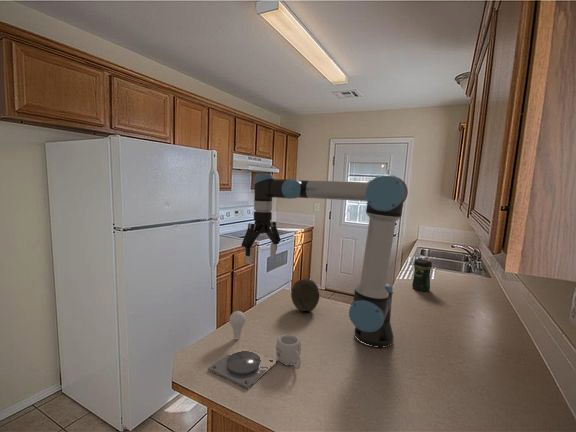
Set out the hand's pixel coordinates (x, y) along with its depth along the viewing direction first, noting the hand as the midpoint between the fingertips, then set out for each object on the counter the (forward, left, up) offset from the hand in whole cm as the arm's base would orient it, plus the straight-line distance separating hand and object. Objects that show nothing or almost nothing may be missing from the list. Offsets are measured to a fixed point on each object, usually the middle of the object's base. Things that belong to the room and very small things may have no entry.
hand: (261, 260), depth 125 cm
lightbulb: (-1, +16, -28) cm, 32 cm away
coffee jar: (-54, -93, -28) cm, 111 cm away
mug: (-26, +18, -28) cm, 42 cm away
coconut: (-10, -23, -28) cm, 37 cm away
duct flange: (-14, +28, -27) cm, 42 cm away
